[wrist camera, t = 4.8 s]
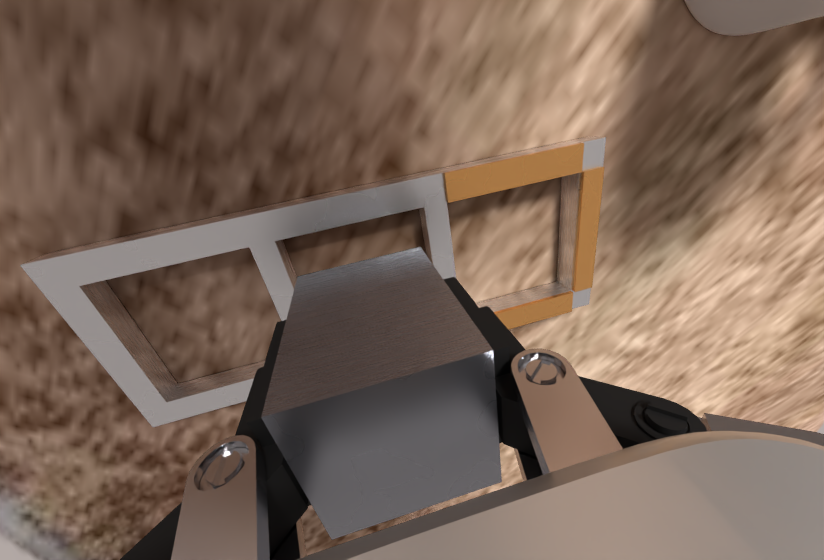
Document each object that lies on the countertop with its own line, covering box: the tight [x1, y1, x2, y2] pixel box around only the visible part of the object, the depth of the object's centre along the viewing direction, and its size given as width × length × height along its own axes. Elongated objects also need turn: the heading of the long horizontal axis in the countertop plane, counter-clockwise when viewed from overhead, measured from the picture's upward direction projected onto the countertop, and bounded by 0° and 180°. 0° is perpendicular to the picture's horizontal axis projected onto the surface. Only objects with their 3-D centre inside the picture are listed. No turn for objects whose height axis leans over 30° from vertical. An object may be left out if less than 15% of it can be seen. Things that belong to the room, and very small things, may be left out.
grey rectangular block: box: [261, 247, 502, 539], centre depth 9 cm, size 4×4×6 cm
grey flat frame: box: [20, 137, 606, 427], centre depth 15 cm, size 9×23×1 cm, turn 100°
